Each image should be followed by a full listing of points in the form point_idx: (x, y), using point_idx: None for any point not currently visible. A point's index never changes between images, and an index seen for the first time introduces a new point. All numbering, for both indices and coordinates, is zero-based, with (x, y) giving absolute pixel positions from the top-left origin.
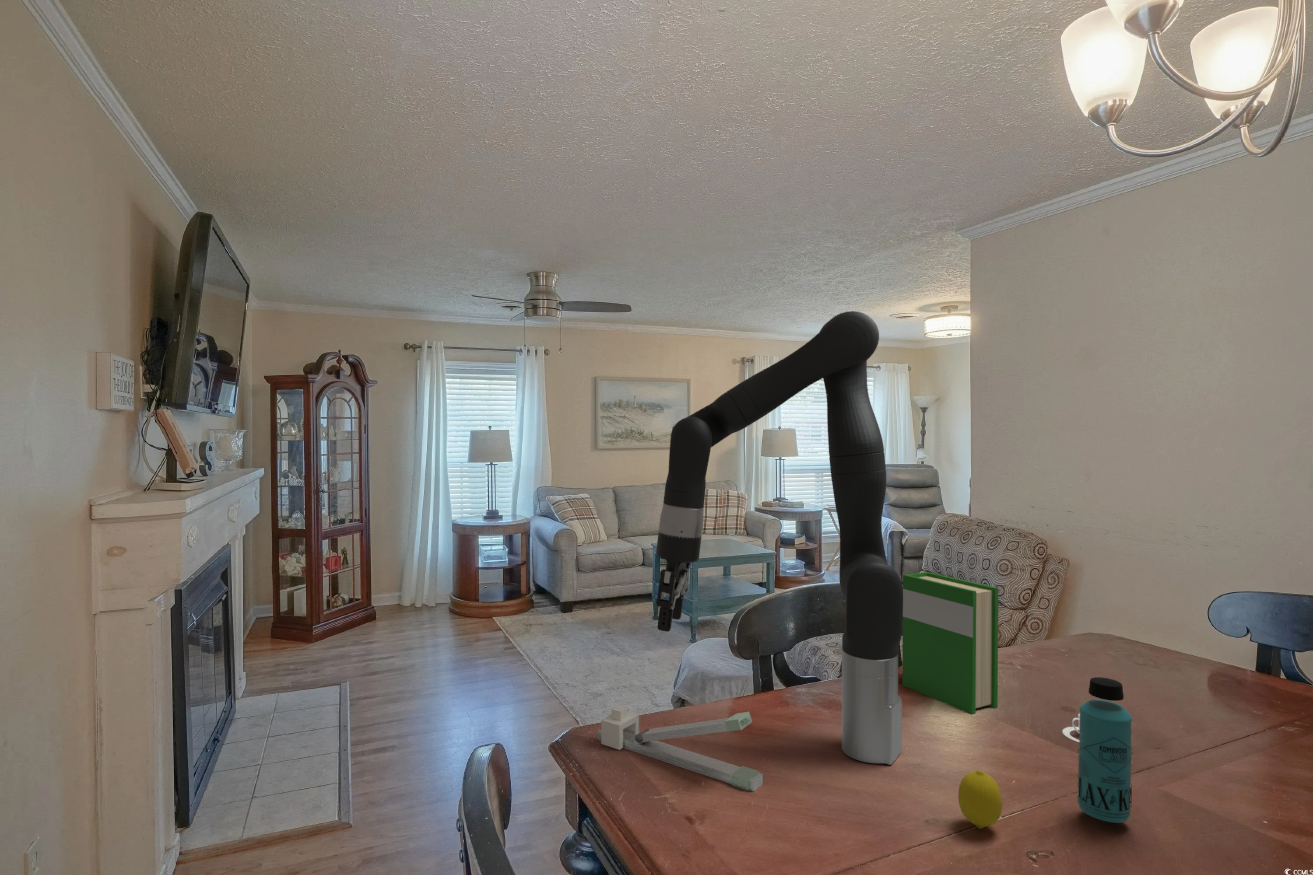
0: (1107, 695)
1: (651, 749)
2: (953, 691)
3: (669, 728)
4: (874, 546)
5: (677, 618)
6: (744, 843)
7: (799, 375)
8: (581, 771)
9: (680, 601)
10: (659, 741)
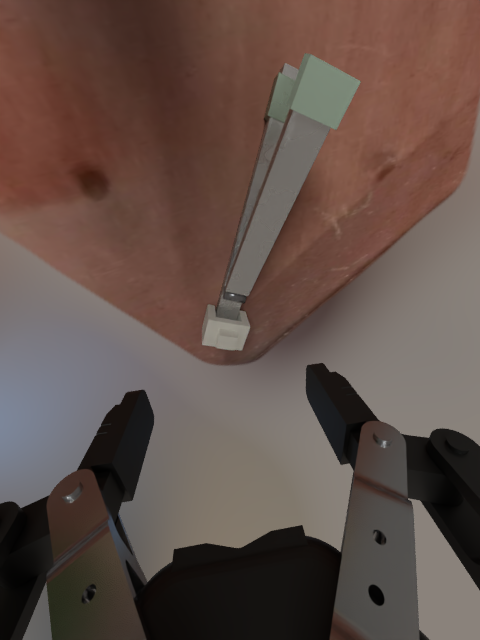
0: None
1: None
2: None
3: (250, 261)
4: None
5: (144, 395)
6: (441, 72)
7: None
8: (298, 324)
9: (119, 456)
10: (227, 273)
